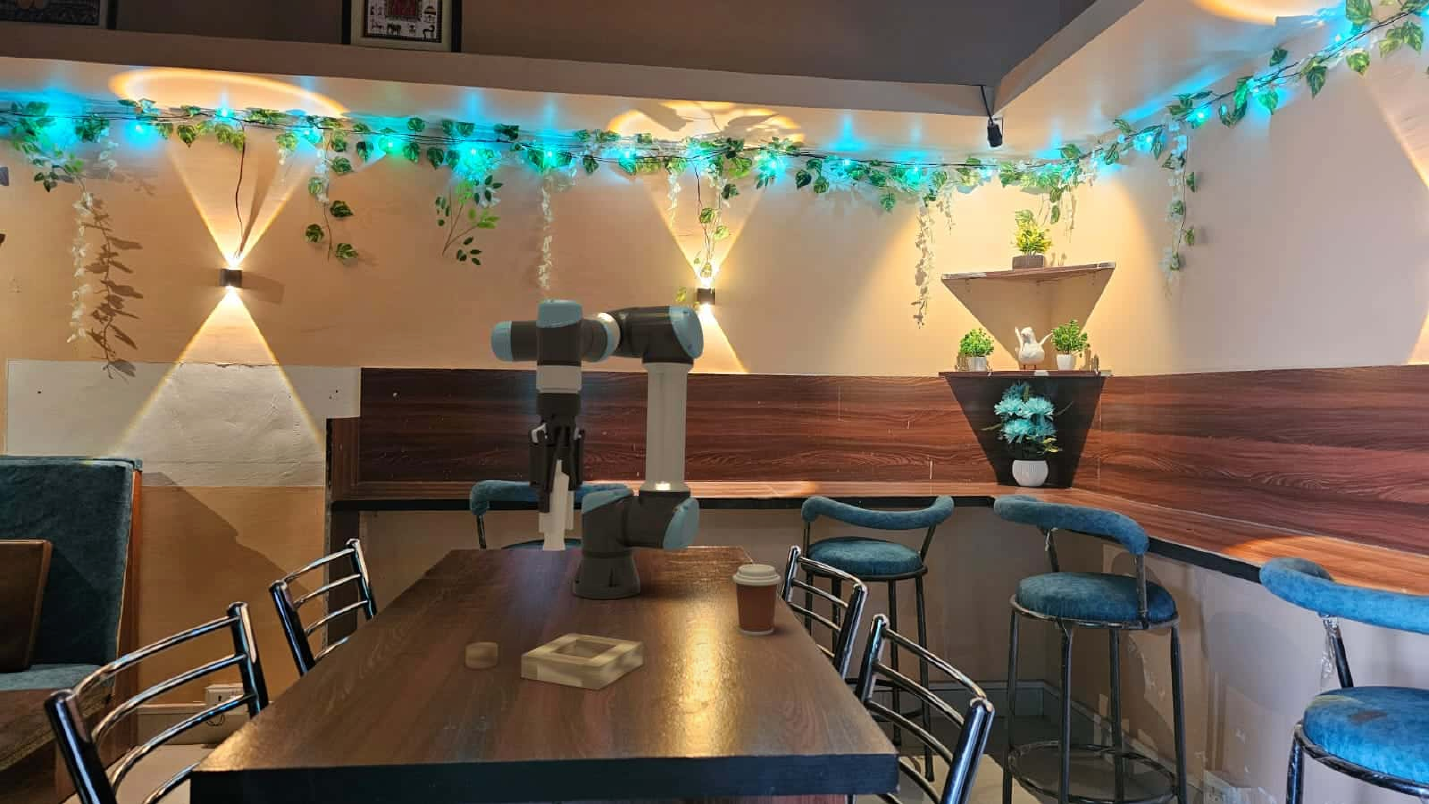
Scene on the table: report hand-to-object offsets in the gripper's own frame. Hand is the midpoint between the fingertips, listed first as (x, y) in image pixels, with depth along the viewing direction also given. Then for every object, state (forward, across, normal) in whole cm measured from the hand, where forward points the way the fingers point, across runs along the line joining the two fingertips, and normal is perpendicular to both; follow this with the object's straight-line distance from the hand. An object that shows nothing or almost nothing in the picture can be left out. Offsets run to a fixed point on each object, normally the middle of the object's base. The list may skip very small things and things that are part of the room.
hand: (556, 530), depth 142 cm
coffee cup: (+21, -32, +24) cm, 45 cm away
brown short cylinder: (+22, +8, -9) cm, 25 cm away
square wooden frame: (+22, +3, +8) cm, 23 cm away
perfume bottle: (+3, 0, 0) cm, 3 cm away
